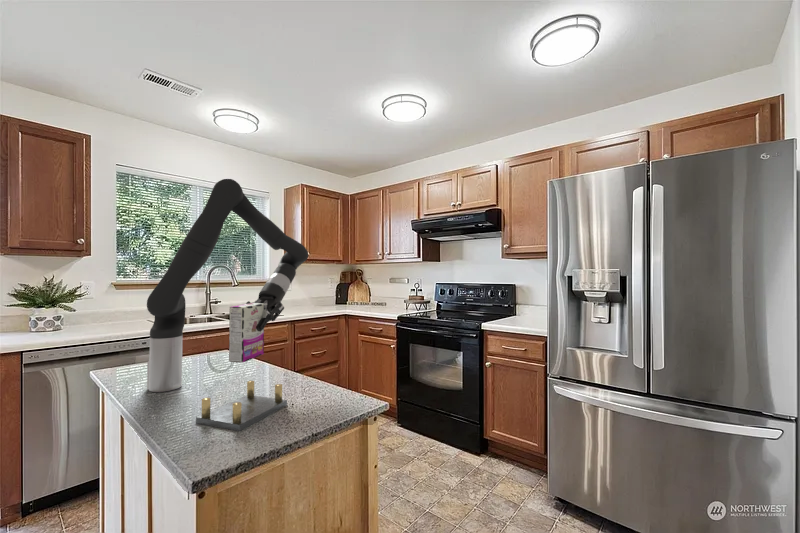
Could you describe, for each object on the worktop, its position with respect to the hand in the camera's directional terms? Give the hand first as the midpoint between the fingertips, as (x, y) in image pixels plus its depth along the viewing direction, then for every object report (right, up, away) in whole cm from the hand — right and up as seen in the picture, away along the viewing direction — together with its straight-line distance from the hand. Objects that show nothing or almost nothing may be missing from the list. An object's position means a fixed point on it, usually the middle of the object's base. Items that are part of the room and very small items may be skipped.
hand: (250, 329), depth 113 cm
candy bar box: (-1, -9, -2) cm, 9 cm away
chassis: (+4, -21, -14) cm, 25 cm away
